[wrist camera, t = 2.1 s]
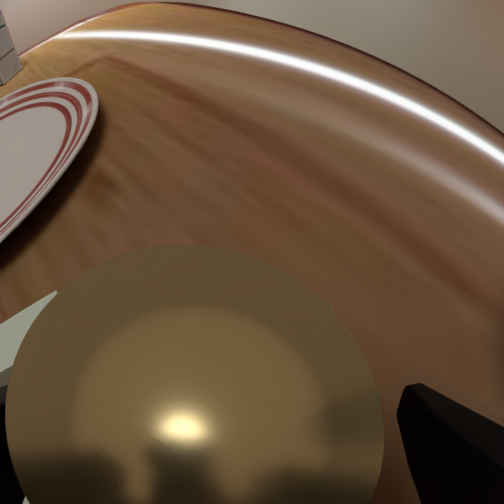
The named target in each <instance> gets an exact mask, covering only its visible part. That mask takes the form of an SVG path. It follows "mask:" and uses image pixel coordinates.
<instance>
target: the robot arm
mask: <svg viewBox="0 0 504 504" xmlns="http://www.w3.org/2000/svg"><path fill="white" fill-rule="evenodd" d="M7 388H8V384H7V385H5V386H3V387H0V504H23V501H24V499H25V494H24V492H23V490H22V488H21V486H20V483H19V481H18V478H17V476H16V473H15V470H14V468H13V464H12V460H11V456H10V452H9V448H8V442H7V434H6V424H5V408H6V395H7ZM397 420H398V424H399V428H400V432H401V436H402V441H403V445H404V449H405V454H406V458H407V462H408V466H409V469H410V472H411V475H412V478H413V481H414V484H415V486H416V489H417V492H418V495H419V498H420V501H421V504H504V427H503V426H501V425H499V424H497V423H495V422H493V421H491V420H490V419H488V418H486V417H484V416H482V415H480V414H478V413H476V412H474V411H472V410H470V409H468V408H467V407H465V406H463V405H461V404H459V403H457V402H455V401H453V400H451V399H450V398H448V397H446V396H444V395H442V394H440V393H438V392H437V391H435V390H433V389H431V388H429V387H427V386H425V385H424V384H421V383H417V384H411V385H407V386H406V387H405V388H404V390H403V393H402V396H401V399H400V403H399V406H398V409H397Z"/></svg>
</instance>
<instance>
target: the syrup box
mask: <svg viewBox="0 0 504 504" xmlns="http://www.w3.org/2000/svg"><path fill="white" fill-rule="evenodd" d="M22 69H23V67H22V64H21V62H20V59H19V57H18V54H17V52H16V49H15V47H14V44H13V41H12V39H11V36H10V33H9V31H8V28H7V25H6V22H5V19H4V16H3V13H2V10H1V9H0V86H1V85H4V84H5V83H7V82H8V81H9V80H10V79H12V78H13V77H14V76H15V75H16V74H17V73H18V72H20V71H21V70H22Z"/></svg>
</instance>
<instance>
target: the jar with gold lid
mask: <svg viewBox="0 0 504 504" xmlns="http://www.w3.org/2000/svg"><path fill="white" fill-rule="evenodd" d="M5 424H6V434H7V442H8V448H9V452H10V456H11V460H12V464H13V468H14V470H15V473H16V476H17V478H18V481H19V483H20V486H21V488H22V490H23V492H24V494H25V496H26V498H27V500H28V502H29V504H370V502H371V500H372V498H373V495H374V492H375V489H376V485H377V482H378V479H379V476H380V472H381V466H382V459H383V452H384V418H383V411H382V405H381V399H380V394H379V391H378V388H377V384H376V381H375V378H374V375H373V372H372V369H371V367H370V365H369V363H368V361H367V359H366V357H365V355H364V353H363V351H362V349H361V347H360V345H359V344H358V342H357V341H356V339H355V338H354V336H353V334H352V333H351V331H350V330H349V328H348V327H347V325H346V324H345V323H344V322H343V321H342V320H341V318H340V317H339V316H338V315H337V314H336V313H335V312H334V310H333V309H332V308H331V307H330V306H329V305H328V304H327V303H326V302H325V301H324V300H322V299H321V298H320V297H319V296H318V295H317V294H316V293H315V292H313V291H312V290H311V289H310V288H309V287H307V286H306V285H304V284H303V283H301V282H300V281H298V280H297V279H296V278H294V277H293V276H291V275H290V274H288V273H286V272H284V271H282V270H280V269H278V268H277V267H275V266H273V265H271V264H269V263H267V262H264V261H262V260H259V259H256V258H254V257H251V256H249V255H246V254H243V253H239V252H235V251H231V250H227V249H223V248H217V247H209V246H202V245H167V246H156V247H150V248H145V249H141V250H136V251H132V252H129V253H126V254H123V255H120V256H117V257H114V258H111V259H109V260H107V261H105V262H103V263H101V264H99V265H97V266H95V267H93V268H91V269H89V270H88V271H86V272H85V273H83V274H81V275H80V276H78V277H77V278H75V279H74V280H73V281H71V282H70V283H69V284H68V285H66V286H65V287H64V288H63V289H62V290H60V291H59V292H58V293H57V294H56V295H55V296H54V297H53V298H52V299H51V300H50V302H49V303H48V304H47V305H46V306H45V307H44V308H43V309H42V311H41V312H40V313H39V315H38V316H37V317H36V319H35V320H34V322H33V323H32V324H31V326H30V328H29V330H28V331H27V333H26V335H25V337H24V339H23V340H22V342H21V345H20V347H19V350H18V352H17V354H16V357H15V359H14V362H13V366H12V370H11V373H10V377H9V381H8V388H7V395H6V408H5Z"/></svg>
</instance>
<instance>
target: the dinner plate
mask: <svg viewBox="0 0 504 504" xmlns="http://www.w3.org/2000/svg"><path fill="white" fill-rule="evenodd" d="M98 107H99V102H98V95H97V92H96V91H95V89H94V88H93V87H92V86H91V85H90V84H89V83H87V82H85V81H84V80H81V79H77V78H70V77H62V78H53V79H48V80H43V81H40V82H36V83H33V84H30V85H28V86H25V87H23V88H20V89H18V90H16V91H14V92H12V93H10V94H8V95H6V96H4V97H2V98H0V243H1V242H2V241H3V240H4V239H5V238H6V237H7V236H8V235H10V234H11V233H12V232H13V231H14V230H15V229H16V228H17V227H18V226H19V225H20V223H21V222H22V221H23V220H24V219H25V218H26V217H27V216H28V215H29V214H30V213H31V212H32V211H33V210H34V209H35V207H36V206H37V205H38V204H39V203H40V202H41V201H42V199H43V198H44V197H45V196H46V195H47V194H48V193H49V192H50V190H51V189H52V188H53V187H54V185H55V184H56V183H57V182H58V180H59V179H60V178H61V176H62V175H63V174H64V172H65V171H66V170H67V169H68V167H69V166H70V164H71V163H72V162H73V160H74V159H75V157H76V156H77V154H78V153H79V151H80V150H81V148H82V146H83V145H84V143H85V142H86V140H87V138H88V136H89V134H90V132H91V130H92V128H93V125H94V123H95V120H96V117H97V113H98Z"/></svg>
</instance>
